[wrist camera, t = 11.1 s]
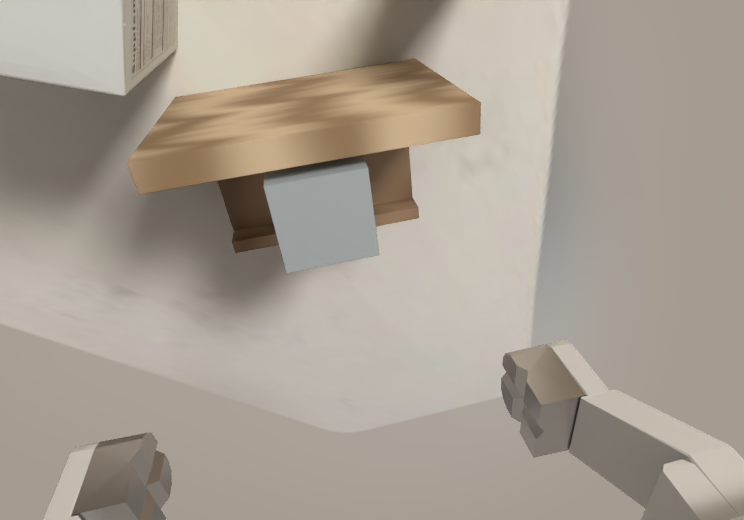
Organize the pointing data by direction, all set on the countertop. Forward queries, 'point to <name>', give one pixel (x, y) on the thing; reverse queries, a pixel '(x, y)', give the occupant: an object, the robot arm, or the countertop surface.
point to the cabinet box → (322, 213)
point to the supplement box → (86, 41)
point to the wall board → (304, 137)
